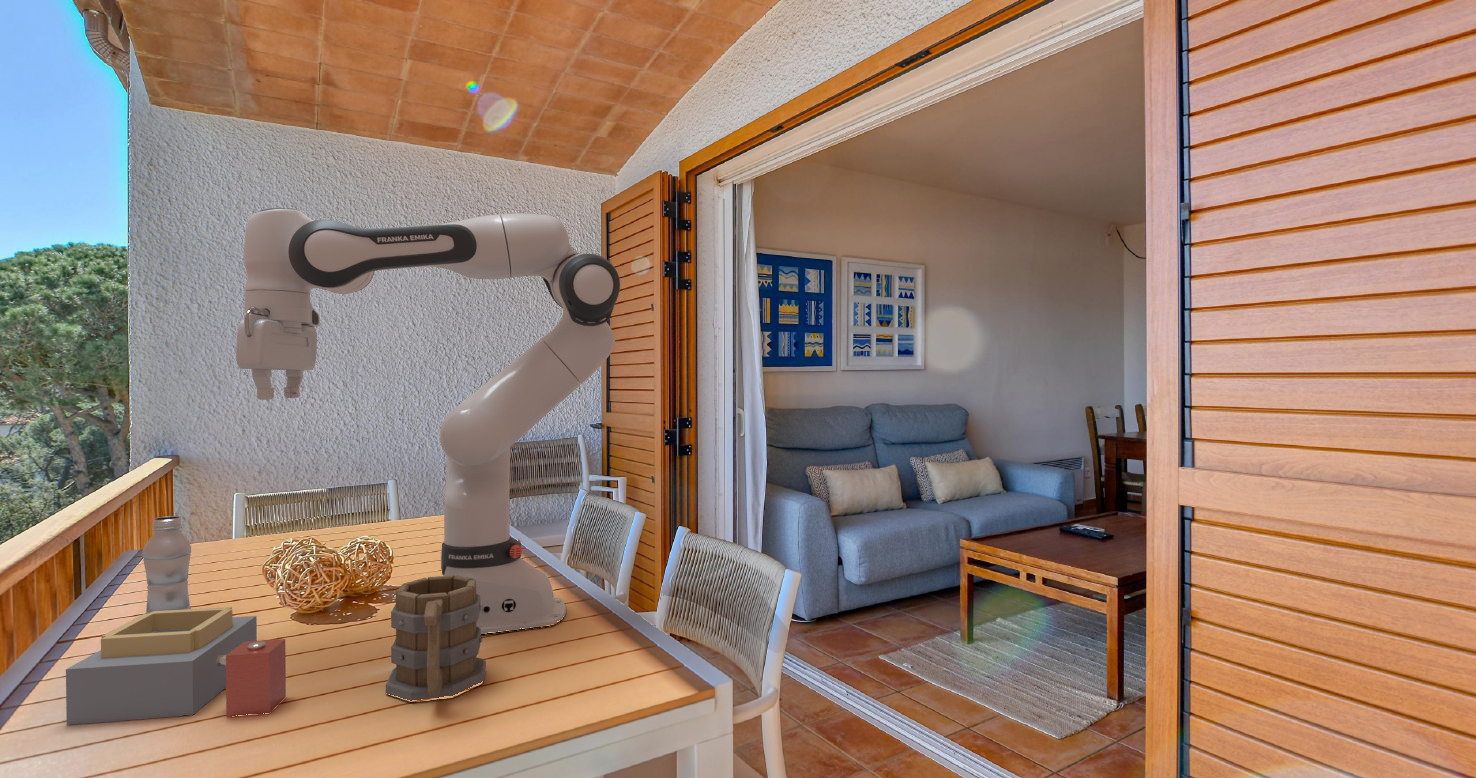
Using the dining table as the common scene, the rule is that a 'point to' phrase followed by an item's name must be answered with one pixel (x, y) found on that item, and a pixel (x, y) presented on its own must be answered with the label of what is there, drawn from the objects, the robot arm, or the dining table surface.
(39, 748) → the dining table surface
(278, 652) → the red rectangular block
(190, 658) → the grey box
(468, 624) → the tankard
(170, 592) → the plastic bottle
